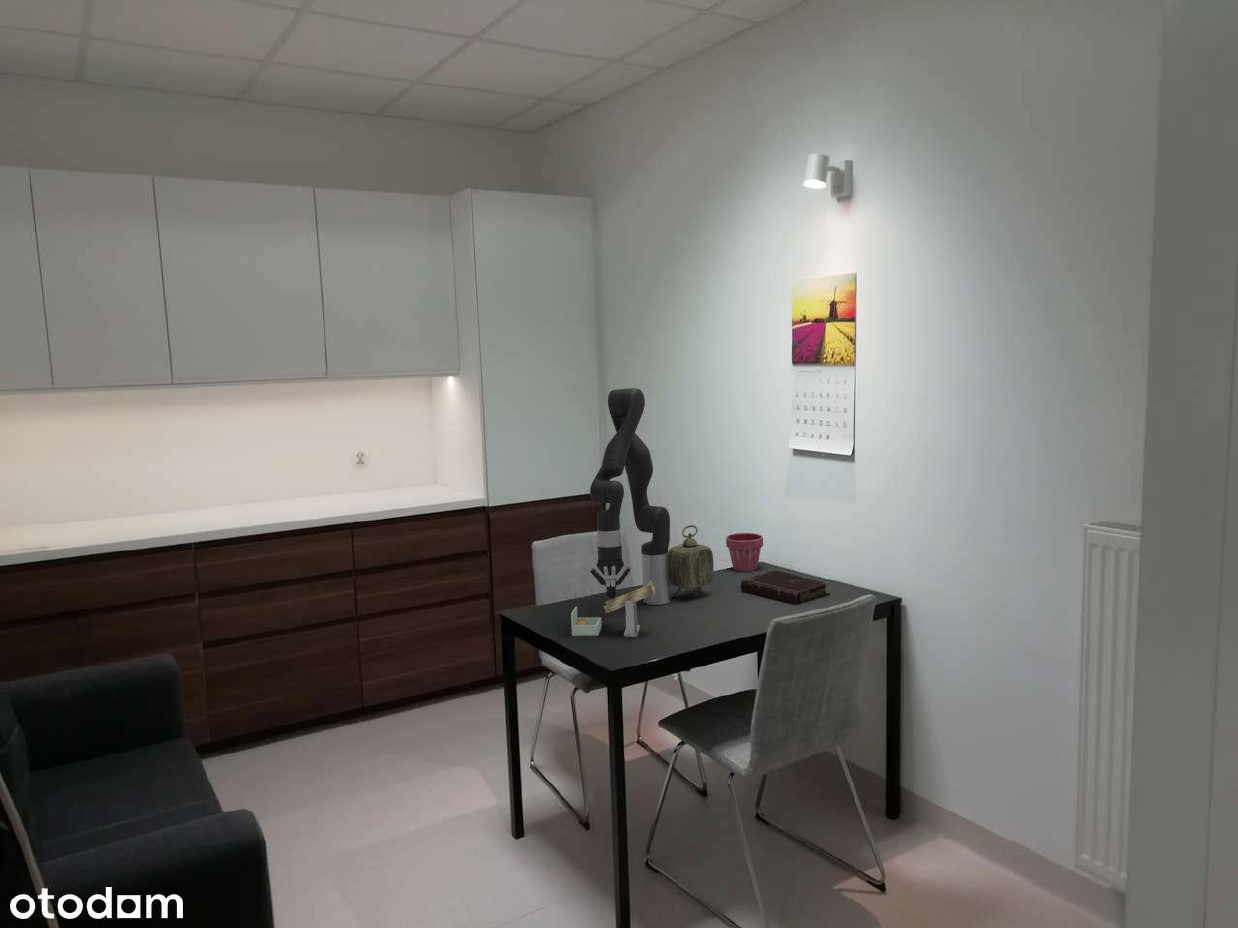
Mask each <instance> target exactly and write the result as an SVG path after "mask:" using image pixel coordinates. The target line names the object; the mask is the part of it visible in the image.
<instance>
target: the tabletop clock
mask: <svg viewBox="0 0 1238 928" xmlns="http://www.w3.org/2000/svg"><path fill="white" fill-rule="evenodd" d="M689 528H694V529H695V532H694V533H693V534H692V533H690V532H689V533H688V535H685V534H684V532H685V531H686V529H689ZM697 533H698V528H697V526H696V525H693V524H690V525H686V526H685V527H684V528H683V529H682V531H681V534H682V536H683V538H686V539H684V541H683V542H682V543H680V544H678V545H675V546H673V547H671V548H670V549H668V556H669V581H670V585H671V586H674V587H678V589H677V591H676V592H674V593H673V597H674V598H678V597H679V592H681V590H682V589H686V590H692V589H693V590H694V594H693V595H694V597H695V598H698V597H699V596H700V594H699V592H700V591H701V590H702V588H701V587H704V586H706V585H709V584H711V583H712V582H713V578H714V568H715V567H714V564H715V563H714V555H713V551H712V549H711V547H710V546H707V545H703V544H698V542H697V539H695V538H694V537H695V536H696V535H697Z"/></svg>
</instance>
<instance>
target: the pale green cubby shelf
mask: <svg viewBox="0 0 1238 928" xmlns="http://www.w3.org/2000/svg"><path fill="white" fill-rule="evenodd" d="M570 620H571V621H570V622H571V637H598V636H599V635H600V633H601V630H602V628H603V626H602V617H578V606H574V608H573V609H572V612H571V613H570ZM579 621H584V622H586V624H587V625H577V623H578V622H579Z"/></svg>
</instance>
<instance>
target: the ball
mask: <svg viewBox="0 0 1238 928" xmlns="http://www.w3.org/2000/svg"><path fill="white" fill-rule="evenodd" d="M577 625H587V624H586V622H584V621H579V622H578V623H577Z"/></svg>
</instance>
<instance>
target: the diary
mask: <svg viewBox="0 0 1238 928" xmlns="http://www.w3.org/2000/svg"><path fill="white" fill-rule="evenodd" d="M826 585H830V582H824V581H822V580H820V581H819V580H816V579H815V580H814V579H811V578H806V577H802V576H798V575H797V574H792V573H789V572H785V571H780V570H777V569H774V570H770V571H767V572H763V573H759V574H757V575H753V576H751V577H748V578H746V579H742V580H741V582H740V591H741V592H743V593H747V594H751V595H755V596H760V597H763V598H767V599H769V600H774V601H779V602H783V603H787V604H790V605H794V606H797V605H798V604H799V605H801V603H804V602H807V601H814V600H817V599H818V600H819V599H821V598H824V597H826V596H829V595H830V592H827V589H826V588H827V586H826Z"/></svg>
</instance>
